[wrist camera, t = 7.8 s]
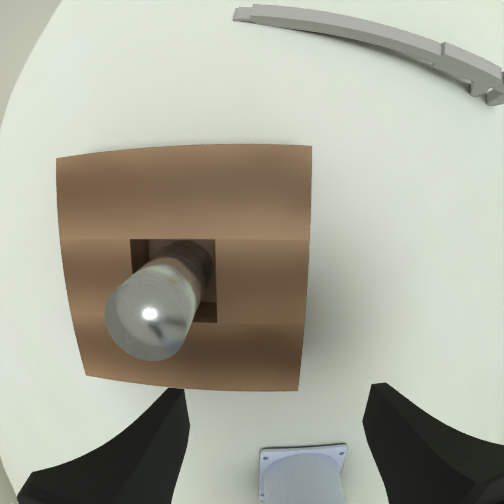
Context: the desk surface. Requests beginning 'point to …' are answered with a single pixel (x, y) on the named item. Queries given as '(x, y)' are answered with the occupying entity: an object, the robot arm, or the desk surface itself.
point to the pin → (159, 302)
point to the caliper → (386, 43)
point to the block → (211, 239)
